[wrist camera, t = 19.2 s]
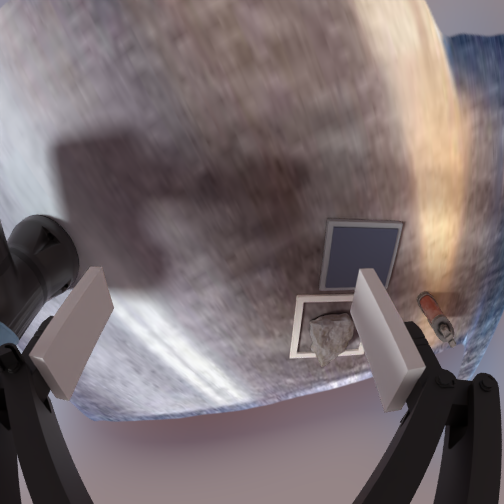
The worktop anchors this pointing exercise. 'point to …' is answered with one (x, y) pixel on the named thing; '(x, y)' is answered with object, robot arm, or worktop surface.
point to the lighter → (436, 318)
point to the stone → (330, 336)
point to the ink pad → (358, 251)
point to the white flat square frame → (298, 316)
